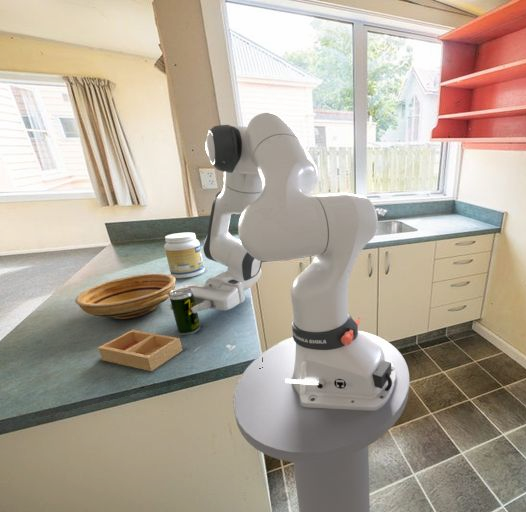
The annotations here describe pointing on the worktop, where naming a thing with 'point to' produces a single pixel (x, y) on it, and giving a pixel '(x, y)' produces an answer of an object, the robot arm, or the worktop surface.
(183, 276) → the supplement tub
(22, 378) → the worktop surface
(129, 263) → the worktop surface
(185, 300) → the beer can
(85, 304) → the tan oval bowl
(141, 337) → the socket base
